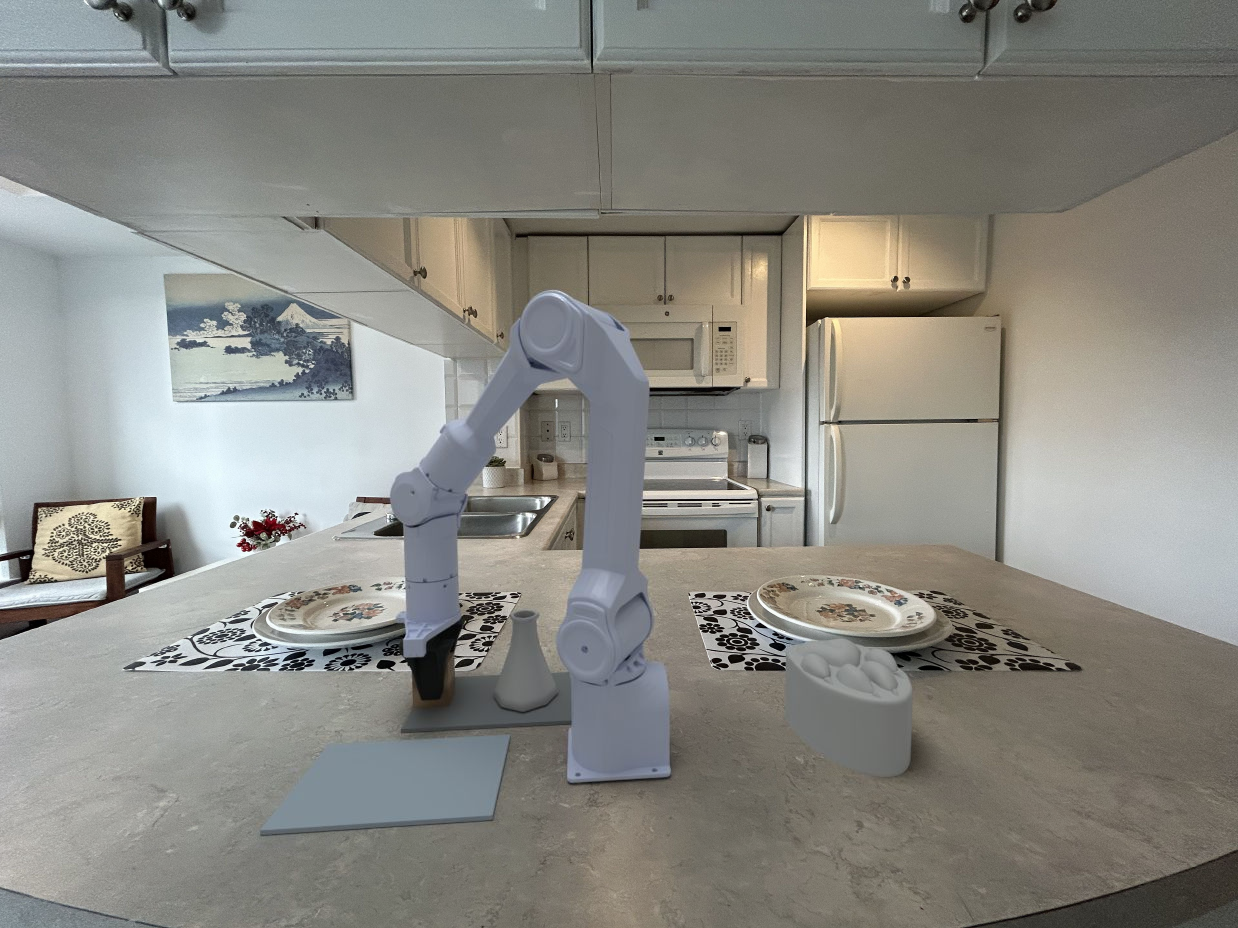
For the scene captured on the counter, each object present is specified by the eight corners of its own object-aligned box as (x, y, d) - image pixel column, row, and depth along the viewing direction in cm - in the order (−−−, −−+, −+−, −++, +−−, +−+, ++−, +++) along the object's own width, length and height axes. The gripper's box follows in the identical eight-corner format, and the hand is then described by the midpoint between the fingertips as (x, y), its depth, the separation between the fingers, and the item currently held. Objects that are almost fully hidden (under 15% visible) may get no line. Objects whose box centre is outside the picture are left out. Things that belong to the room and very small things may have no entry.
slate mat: (510, 738, 52) (510, 734, 52) (492, 819, 41) (492, 815, 41) (328, 747, 51) (328, 743, 51) (260, 834, 40) (260, 830, 40)
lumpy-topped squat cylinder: (855, 697, 60) (857, 626, 59) (942, 770, 47) (946, 680, 47) (773, 706, 58) (774, 632, 58) (840, 783, 46) (842, 690, 45)
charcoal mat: (573, 674, 66) (572, 634, 65) (572, 723, 55) (571, 675, 54) (430, 680, 64) (429, 639, 64) (400, 732, 53) (399, 683, 53)
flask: (529, 675, 65) (527, 598, 64) (569, 693, 60) (568, 611, 60) (481, 698, 59) (479, 615, 59) (522, 720, 55) (520, 630, 54)
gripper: (416, 560, 65) (419, 662, 66) (370, 597, 50) (375, 728, 51) (472, 558, 65) (475, 660, 66) (442, 595, 51) (446, 724, 52)
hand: (435, 690), depth 59 cm, fingers closed on charcoal mat, 3 cm apart
